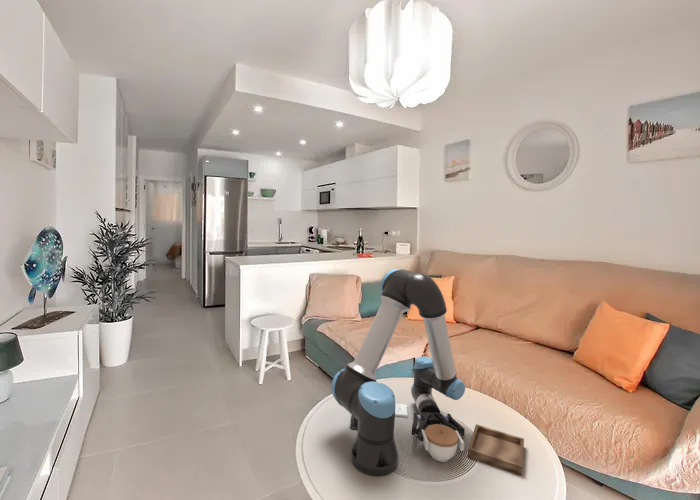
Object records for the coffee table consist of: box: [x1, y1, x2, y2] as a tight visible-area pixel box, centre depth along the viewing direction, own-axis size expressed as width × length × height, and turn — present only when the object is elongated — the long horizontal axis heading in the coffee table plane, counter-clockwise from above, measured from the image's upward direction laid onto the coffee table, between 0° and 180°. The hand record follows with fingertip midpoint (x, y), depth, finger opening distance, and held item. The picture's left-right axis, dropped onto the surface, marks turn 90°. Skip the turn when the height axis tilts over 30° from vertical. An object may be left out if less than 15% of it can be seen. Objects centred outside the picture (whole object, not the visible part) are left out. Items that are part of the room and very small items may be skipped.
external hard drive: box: [395, 403, 409, 418], centre depth 139 cm, size 2×8×12 cm
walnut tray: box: [467, 423, 525, 477], centre depth 116 cm, size 16×16×3 cm
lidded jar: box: [424, 424, 458, 463], centre depth 113 cm, size 11×11×9 cm
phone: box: [349, 414, 358, 431], centre depth 133 cm, size 8×1×15 cm
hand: (444, 446), depth 108 cm, fingers closed on lidded jar, 11 cm apart
